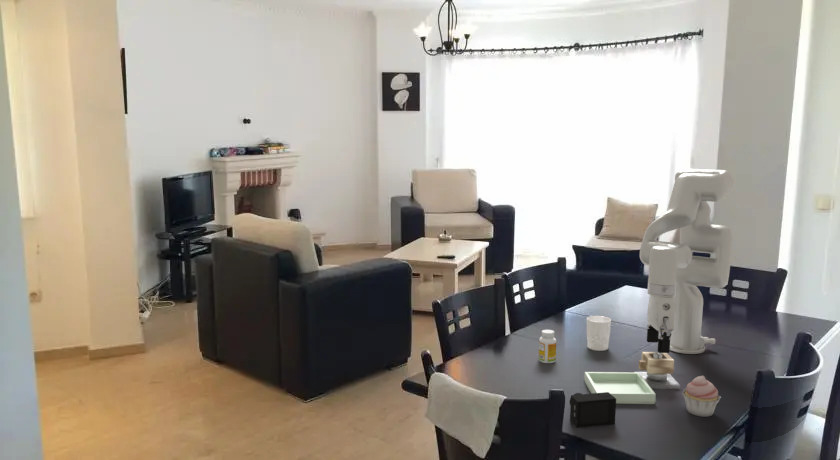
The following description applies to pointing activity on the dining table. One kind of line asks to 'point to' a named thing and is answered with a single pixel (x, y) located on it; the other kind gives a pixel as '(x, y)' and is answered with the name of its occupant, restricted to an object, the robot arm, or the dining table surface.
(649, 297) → the robot arm
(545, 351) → the supplement bottle
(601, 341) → the white cup
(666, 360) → the wooden square frame
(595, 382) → the tray
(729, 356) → the dining table surface
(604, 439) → the dining table surface
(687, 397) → the cupcake
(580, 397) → the digital camera
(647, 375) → the grey stand
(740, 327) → the dining table surface
